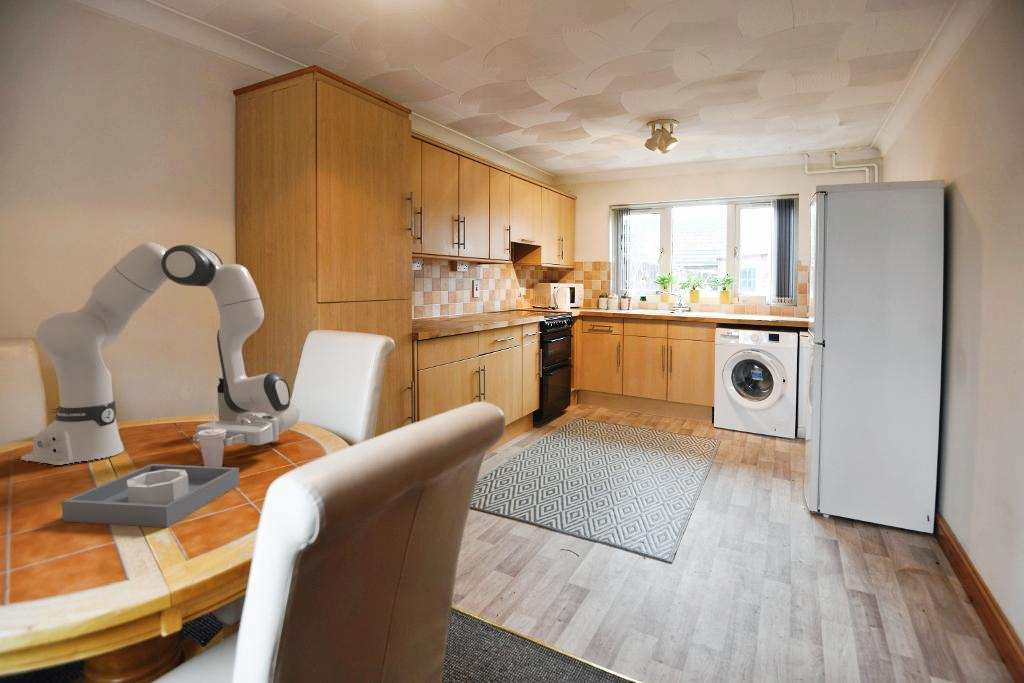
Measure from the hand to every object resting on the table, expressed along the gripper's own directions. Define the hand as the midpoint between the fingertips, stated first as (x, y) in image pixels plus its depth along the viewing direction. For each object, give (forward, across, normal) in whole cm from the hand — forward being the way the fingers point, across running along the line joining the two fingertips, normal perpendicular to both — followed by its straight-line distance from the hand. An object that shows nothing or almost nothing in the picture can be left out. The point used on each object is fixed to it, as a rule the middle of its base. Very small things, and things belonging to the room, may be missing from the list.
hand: (210, 440), depth 129 cm
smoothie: (-1, 0, +8) cm, 8 cm away
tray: (+19, +6, +8) cm, 21 cm away
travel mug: (-30, -22, +8) cm, 38 cm away
